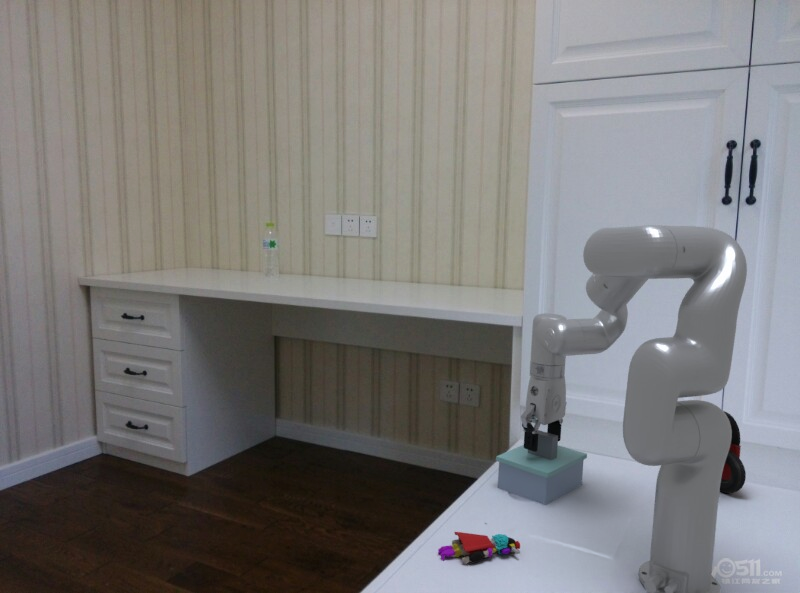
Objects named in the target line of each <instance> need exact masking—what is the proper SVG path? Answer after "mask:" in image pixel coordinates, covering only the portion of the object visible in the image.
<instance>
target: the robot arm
mask: <svg viewBox="0 0 800 593" xmlns="http://www.w3.org/2000/svg"><path fill="white" fill-rule="evenodd" d="M582 257H583V263H584V265H585V267H586V268H587V270H588V271H589V272H590V273H592V274H591V276H590V277H589V278H588V280H587V282H586V283H585V291H586V294H587V296H588V298H589V300H590V301H591V303H593V304H594V305H595V306H596V307H597V308H599V309H600V311H599V312H598V313H597V314H596V315H595V316H594V317H593V318H573V319H572V318H570V319H568V318H567V317H565V316H564V315H561V314H558V313H557V314H556V313H539V314H536V315H535V316H534V317H533V320H532V331H531V332H532V334H531V347H530V348H531V349H530V362H529V376H530V377H529V382H528V386H527V390H526V392H527V393H526V398H525V410H524V411H523V413H522V414H521V416H520V420H521V426H522V428H523V429H522V430H523V433H524V435H523V436H524V438H523V445H524V448H525V449H528V450H531V451H534V452H536V451H537V450H538V435H539V434H537V431H538V430H539V429H540V426H541V425H543V426H547V431H546V432H547V433H550V434H554V435H557V436H558V442H560V441H561V438H562V435H561V434H562V424H563V422H564V417H565V416H566V409H567V408H566V407H567V387H566V386H567V384H566V377H565V372H566V360H567V359H566V358H567V356H568V357H569V356H583V355H584V356H585V355H597V354H601V353H603V352H606V351H607V350H608V349H610V347H612V345H613V344H615V342H617V341H618V339H619V338H620V337H621V336H622V334H623V333H624V331H625V330H626V327H627V324H628V315H629V314H628V313H629V311H628V307H627V304H628V303H629V302H630V301H631V300H633V298H634V296H635V295H636V294H637V293H638V292H639V290H641V288H642V287H643V285H645V284H646V282H648V280H649V279H652V280H654V279H655V280H657V279H660V280H661V279H662V280H663V279H664V280H665V279H670V280H671V279H690V280H693V283H692V285H691V286H690V288H689V289H688V290H687V291H686V292H685V294H684V297H683V298H682V300H681V302H680V305H679V308H678V313H677V322H676V329H675V331H674V335H673V336H671V337H669V336H668V337H658V338H657V337H655V338H652V339H649V340H647V341H645V342H643V343H642V344H641V345H639V346H638V348H637V349H636V350H635V351H634V353H633V355H632V357H631V359H630V360H631V361H630V363H629V369H628V374H627V383H626V391H625V400H624V410H623V419H622V437H623V443H624V446H625V448H626V450H627V453H628V454H629V456H631V458H632V459H633V460H634V461H636V462H637V463H638V464H641V465H643V466H648V467H649V466H650V467H651V466H652V467H655V466H659V467H660V468H659V471H658V474H657V476H656V477H657V478H656V483H655V493H654V494H655V495H654V507H653V516H652V517H653V520H652V529H651V530H652V531H651V542H650V556H649V560H648V561H647V560H646V562H644V563H642V564H641V565H640V567H639V570H638V578H639V581H640V583H641V584H642V585H643V587H644V589H645V591H646V592H648V593H721V585H720V583H719V582H718V580H717V579H716V578H715V577H714V576H713V575H712V572H713V571H712V570H713V563H714V562H713V560H714V552H715V551H714V550H715V540H716V530H717V520H718V519H717V518H718V507H719V501H720V500H719V498H720V492H721V491H720V483H721V477H722V472H723V468H724V464H725V461H726V458H727V455H728V452H729V448H730V444H731V438H732V430H731V424H730V421H729V419H728V417H727V415H726V414H725V413H724V412H723V411H724V410H723V409H722V408H721V407H719V406H718V405H717V404H715V403H712V402H709V401H707V400H700V399H699V400H698V399H694V400H693V399H688V400H679V399H682V398H691V397H693V398H694V397H702V396H707V395H713V394H717V393H719V392H721V391H722V390H723V389H724V388H725V387H726V386H727V384H728V382H729V378H730V374H731V369H732V368H731V367H732V360H733V354H734V353H733V352H734V346H735V340H736V332H737V325H738V324H737V322H738V316H739V315H738V314H739V310H740V305H741V301H742V297H743V294H744V290H745V286H746V281H747V275H748V274H747V272H748V268H747V267H748V266H747V265H748V264H747V259H746V256H745V253H744V250H743V249H742V247H741V245H740V244H739V243H738V241H737V240H736V239H735V238H733V237H732V236H731V235H730V234H728V233H726V232H725V231H722V230H720V229H715V228H713V227H712V228H711V227H707V226H706V227H704V226H695V225H694V226H693V225H692V226H691V225H690V226H689V225H649V224H648V225H635V226H634V225H633V226H621V227H602V228H600V229H598V230H596V231H594V232H593V233H592V234H591V235H590V236H589V238H588V239H587V241H586V242H585V245H584V248H583V255H582ZM678 400H679V401H678Z"/></svg>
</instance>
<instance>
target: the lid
mask: <svg viewBox="0 0 800 593" xmlns="http://www.w3.org/2000/svg"><path fill="white" fill-rule="evenodd" d="M537 434H539V435H538V450H537V451H536V452H534V451H531V450H528V449H525V448H524V444H523V445H520V446H518V447H516V448H513V449H510V450H508V451H506V452H502V453H500V454H498V455H496V457H495V461H496V462H498V463H499V462H501V463H504V464H507V465H510V466H513V467H516V468H519V469H522V470H525V471H528V472H531V473H534V474H537V475H540V476H543V477H546V478H549V477H551V476H553V475H555V474H557V473H558V472H560V471H562V470H564V469H566V468H568V467H570V466H572V465H574V464H576V463H578V462H580V461H582V460H586V459H587V457H588V453H586V452H582V451H578V450H575V449H572V448H569V447H565V446H562V445H559V441H558V436H557V435H554V434H550V433H547V431H543V430H539V429H538V431H537Z"/></svg>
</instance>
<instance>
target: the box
mask: <svg viewBox="0 0 800 593" xmlns="http://www.w3.org/2000/svg"><path fill="white" fill-rule="evenodd" d="M584 460H585V459H584ZM584 460H582V461H580V462H578V463H576V464H574V465H572V466H570V467H568V468H566V469H564V470H562V471H560V472H558V473H557V474H555V475H553V476H551V477H549V478H546V477H543V476H540V475H537V474H534V473H531V472H528V471H525V470H522V469H519V468H516V467H513V466H510V465H507V464H504V463H501V462H498V476H497V488H498V489H500V490H503V491H506V492H508V493H511V494H513V495H516V496H520V497H522V498H524V499H527V500H530V501H532V502H535V503H537V504H541V505H543V506H546V505H548V504H549V503H551V502H553V501H555V500H557V499H558V498H560V497H562V496H564V495H566V494H568V493H569V492H571V491H573V490H575V489H576V488H578V487H580V486H582V485H583V472H584Z"/></svg>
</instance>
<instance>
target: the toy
mask: <svg viewBox="0 0 800 593" xmlns="http://www.w3.org/2000/svg"><path fill="white" fill-rule="evenodd" d="M454 535H455V536H457V538H458V539H453V540H452V541H451V545H444V546H443V545H442V546H441V547H440V548H438V552H437V553H438V554H439V555H440V558H441V560H442V562H444V561H445V557H446V558H449V557H455V558H459V557H461V556H464V557H462V558H461V563H462V565H463V566H466V565H468V563H477V562H480V561H483V559H484V558H490V559H491V557H492V556H493V554H494V553H496V552H497V553H498V554H499V555H507V554H509V553H515V554H517V555H518V554H520V551H519V549H521V543H520V541H519V540H515V539H514V538H512V537H509V536H508V535H506V534H502V533H501V534H500V533H499V534H495V535H491V538H489V536H488V535H485V534H477V533H476V534H475V533H471V532H470V533H468V532H463V531H462V532H461V531H454Z"/></svg>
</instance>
